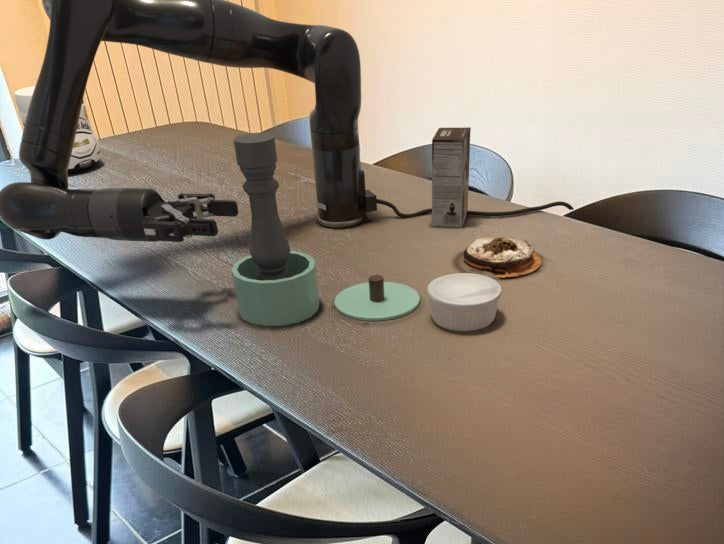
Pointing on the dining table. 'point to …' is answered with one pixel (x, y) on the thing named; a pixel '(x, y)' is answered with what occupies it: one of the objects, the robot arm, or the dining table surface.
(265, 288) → the pot
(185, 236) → the robot arm
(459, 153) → the coffee box
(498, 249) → the cream topped cake
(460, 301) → the ramekin
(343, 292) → the pot lid
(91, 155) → the doce de leite jar
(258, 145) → the candle holder
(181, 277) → the dining table surface
